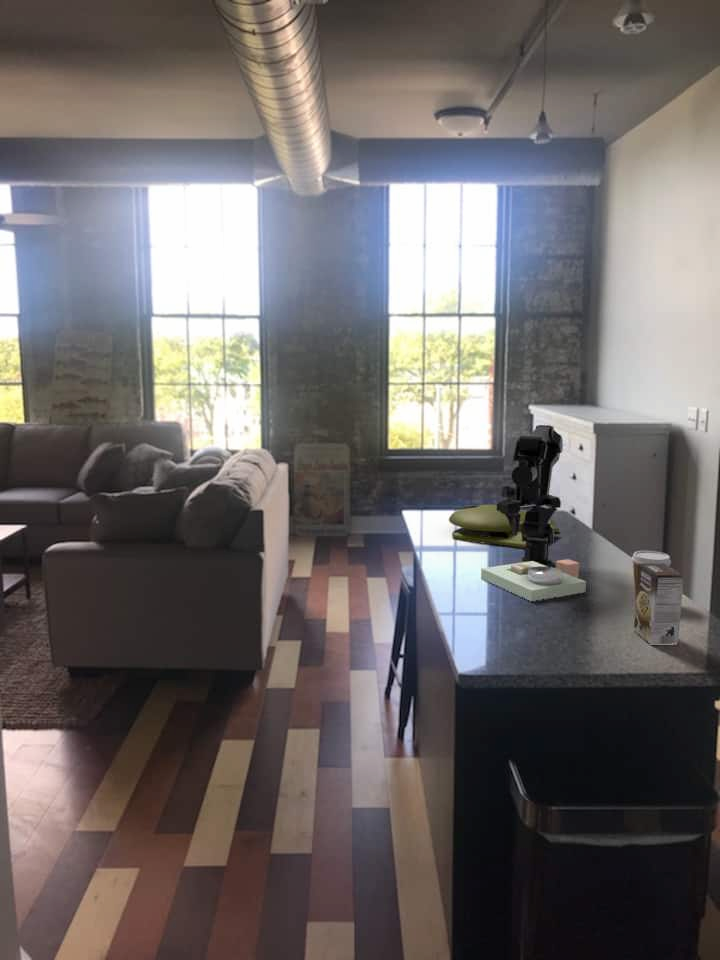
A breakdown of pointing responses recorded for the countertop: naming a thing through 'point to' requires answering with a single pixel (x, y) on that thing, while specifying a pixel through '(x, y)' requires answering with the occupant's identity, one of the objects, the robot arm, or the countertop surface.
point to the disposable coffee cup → (648, 561)
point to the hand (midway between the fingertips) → (527, 533)
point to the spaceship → (488, 525)
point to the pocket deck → (528, 589)
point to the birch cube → (520, 568)
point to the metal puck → (545, 575)
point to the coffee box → (658, 603)
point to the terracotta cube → (568, 567)
